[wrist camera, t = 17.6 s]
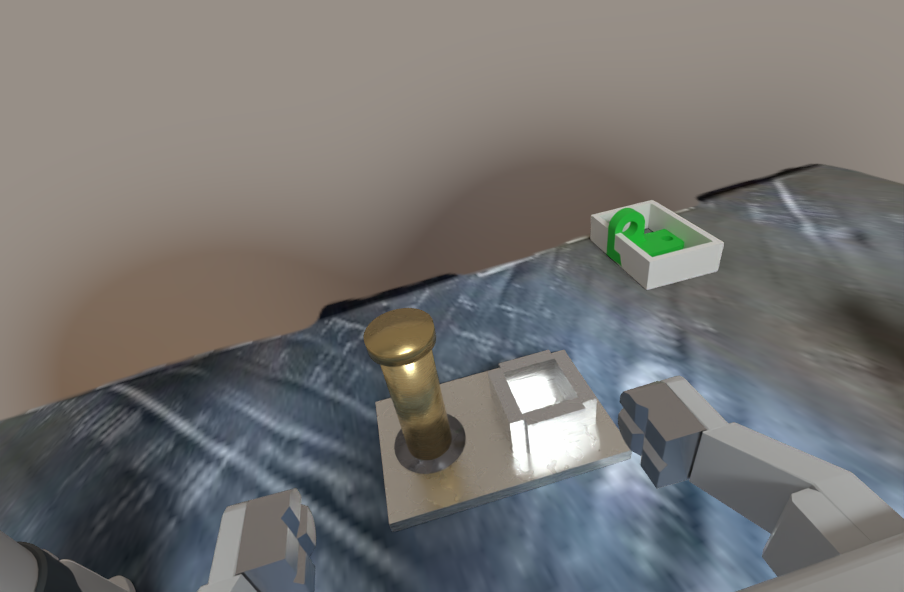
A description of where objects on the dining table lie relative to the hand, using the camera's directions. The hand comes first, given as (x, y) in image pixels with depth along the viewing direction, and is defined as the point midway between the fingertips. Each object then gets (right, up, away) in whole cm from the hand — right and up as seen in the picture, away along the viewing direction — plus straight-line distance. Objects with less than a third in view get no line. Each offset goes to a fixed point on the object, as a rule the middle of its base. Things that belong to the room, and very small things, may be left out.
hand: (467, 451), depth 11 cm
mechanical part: (+33, +11, +65) cm, 74 cm away
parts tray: (+33, +11, +65) cm, 74 cm away
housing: (+4, -12, +40) cm, 42 cm away
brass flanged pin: (-3, -12, +38) cm, 40 cm away
